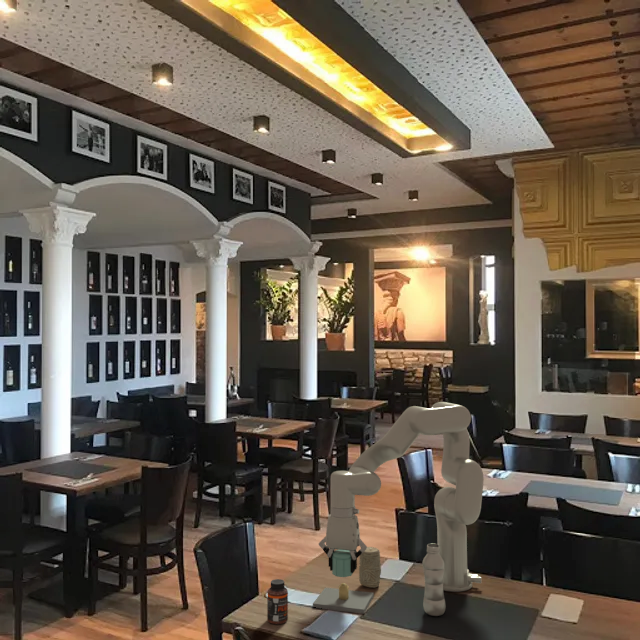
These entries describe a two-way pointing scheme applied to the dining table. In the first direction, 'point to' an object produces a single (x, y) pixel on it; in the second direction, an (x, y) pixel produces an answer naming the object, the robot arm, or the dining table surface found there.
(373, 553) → the carving
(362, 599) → the grey square board
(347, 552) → the cap
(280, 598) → the supplement bottle
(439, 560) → the plastic bottle
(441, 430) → the robot arm
